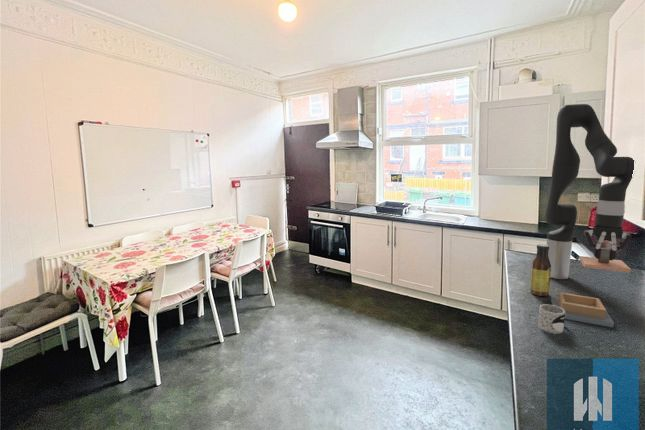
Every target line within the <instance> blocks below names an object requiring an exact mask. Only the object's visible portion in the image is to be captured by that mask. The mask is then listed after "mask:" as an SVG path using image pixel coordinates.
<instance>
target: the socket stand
mask: <svg viewBox="0 0 645 430" xmlns="http://www.w3.org/2000/svg"><path fill="white" fill-rule="evenodd" d="M550 302H551V305H554V306H558V307H560V308H563V309H564V310H565V320H570V321H576V322H581V323H585V324H586V323H587V324H592V325H598V326H602V327H607V328H614V324H615V322H614V321H613V319H612V318H611V316H610V314H609V313H608V312H607V309H606V307H605V306H604V305H603V303H602V301H601V299H600V298H598V297H593V296H592V297H591V296H586V295H578V294H572V293H567V292H560V291H559V292H558V296H557V297H554V296H551V298H550Z"/></svg>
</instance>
